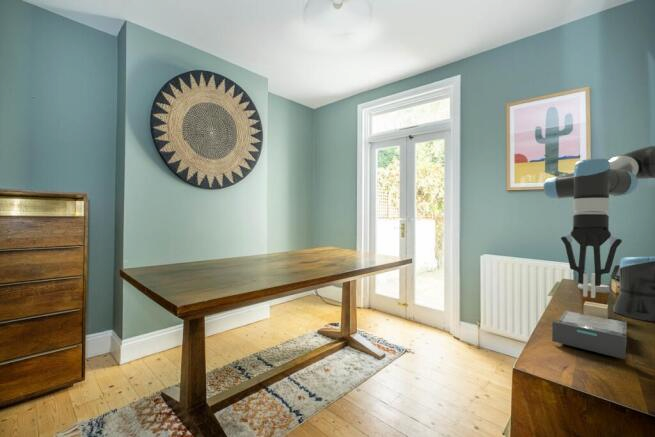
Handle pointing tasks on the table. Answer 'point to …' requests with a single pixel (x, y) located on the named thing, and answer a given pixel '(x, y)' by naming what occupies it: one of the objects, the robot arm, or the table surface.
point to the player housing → (594, 322)
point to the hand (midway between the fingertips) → (589, 296)
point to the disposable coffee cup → (600, 294)
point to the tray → (589, 339)
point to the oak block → (596, 309)
